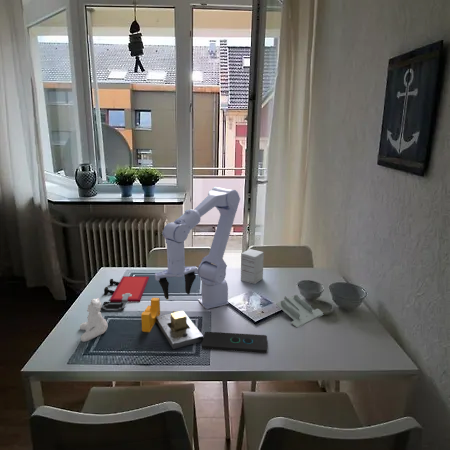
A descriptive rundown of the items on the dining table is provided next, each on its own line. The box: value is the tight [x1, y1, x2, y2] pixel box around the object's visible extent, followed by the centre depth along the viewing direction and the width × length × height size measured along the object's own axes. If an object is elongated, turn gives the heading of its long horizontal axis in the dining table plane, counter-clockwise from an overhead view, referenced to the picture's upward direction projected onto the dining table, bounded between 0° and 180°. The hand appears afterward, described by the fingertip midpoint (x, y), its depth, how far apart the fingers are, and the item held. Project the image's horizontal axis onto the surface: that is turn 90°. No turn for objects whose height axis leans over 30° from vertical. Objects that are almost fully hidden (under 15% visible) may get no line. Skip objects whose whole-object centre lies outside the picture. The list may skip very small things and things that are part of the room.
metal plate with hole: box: [155, 310, 204, 350], centre depth 123 cm, size 10×18×2 cm, turn 27°
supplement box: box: [240, 248, 265, 285], centre depth 162 cm, size 7×7×13 cm
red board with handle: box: [100, 275, 150, 311], centre depth 149 cm, size 30×3×15 cm
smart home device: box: [201, 331, 268, 354], centre depth 116 cm, size 8×2×20 cm
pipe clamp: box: [140, 297, 161, 333], centre depth 127 cm, size 12×4×6 cm, turn 173°
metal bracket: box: [275, 294, 324, 329], centre depth 135 cm, size 14×6×15 cm
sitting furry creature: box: [79, 297, 108, 343], centre depth 120 cm, size 10×9×12 cm
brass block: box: [170, 310, 187, 332], centre depth 122 cm, size 4×4×6 cm
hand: (177, 295), depth 127 cm, fingers open, 7 cm apart
